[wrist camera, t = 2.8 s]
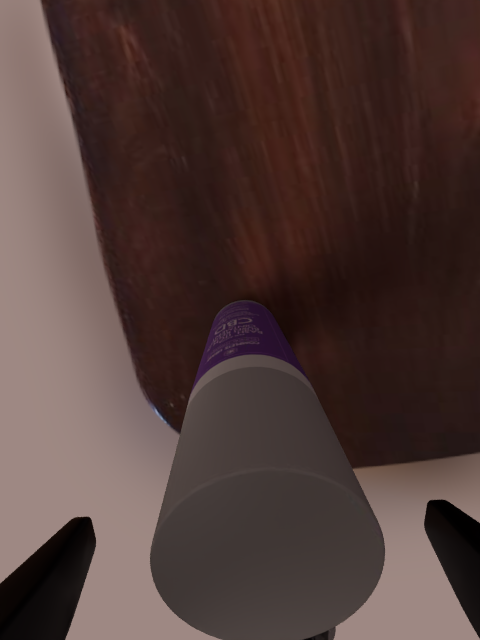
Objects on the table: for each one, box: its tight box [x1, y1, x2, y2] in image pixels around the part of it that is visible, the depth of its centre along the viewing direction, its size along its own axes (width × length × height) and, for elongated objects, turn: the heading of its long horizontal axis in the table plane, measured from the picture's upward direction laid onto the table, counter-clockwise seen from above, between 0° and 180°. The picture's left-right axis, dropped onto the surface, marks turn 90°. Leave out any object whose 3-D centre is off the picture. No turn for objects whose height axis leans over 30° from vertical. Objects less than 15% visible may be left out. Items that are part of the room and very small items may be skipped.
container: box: [150, 300, 385, 640], centre depth 12 cm, size 5×5×15 cm
